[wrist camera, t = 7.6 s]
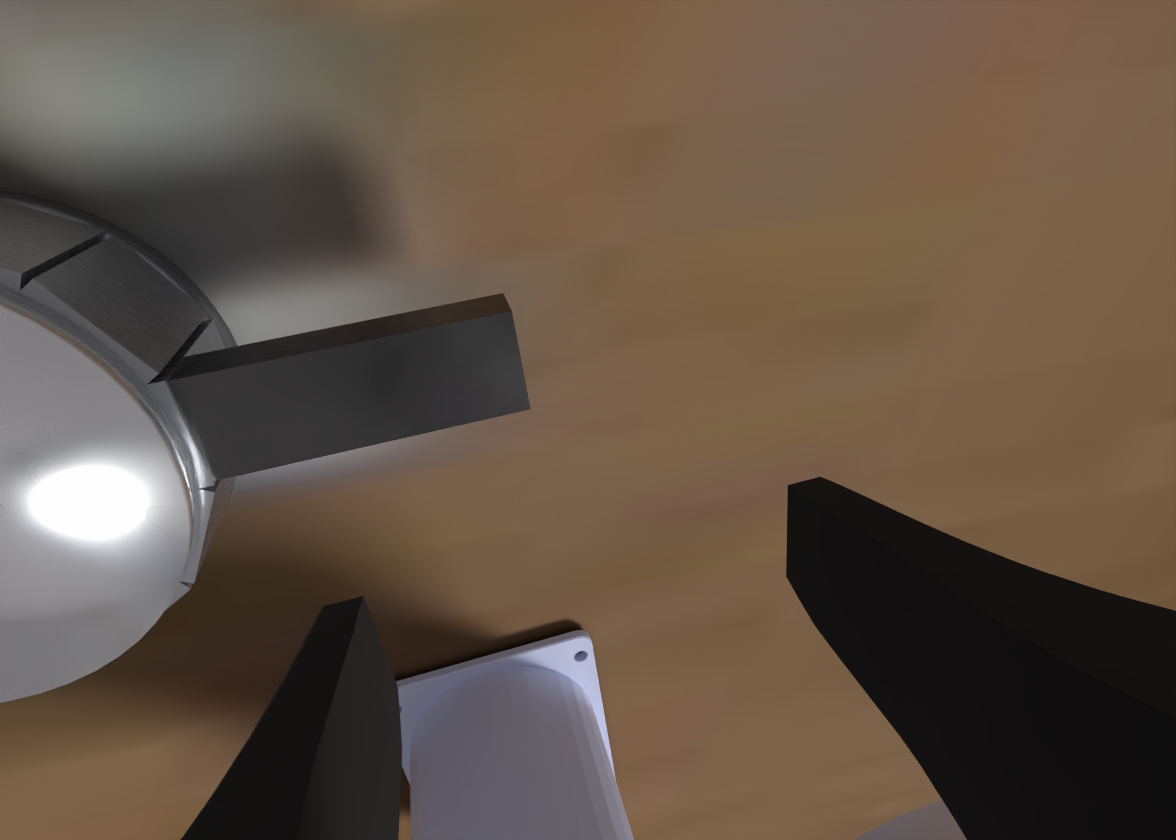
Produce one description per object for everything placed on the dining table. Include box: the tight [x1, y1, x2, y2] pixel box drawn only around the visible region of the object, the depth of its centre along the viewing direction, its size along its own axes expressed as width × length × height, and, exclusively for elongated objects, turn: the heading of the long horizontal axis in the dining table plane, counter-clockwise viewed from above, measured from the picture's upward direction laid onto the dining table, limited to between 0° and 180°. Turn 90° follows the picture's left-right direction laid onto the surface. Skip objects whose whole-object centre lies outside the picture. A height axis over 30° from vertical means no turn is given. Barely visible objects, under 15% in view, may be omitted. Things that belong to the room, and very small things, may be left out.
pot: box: [0, 192, 530, 610], centre depth 16 cm, size 10×20×5 cm, turn 97°
